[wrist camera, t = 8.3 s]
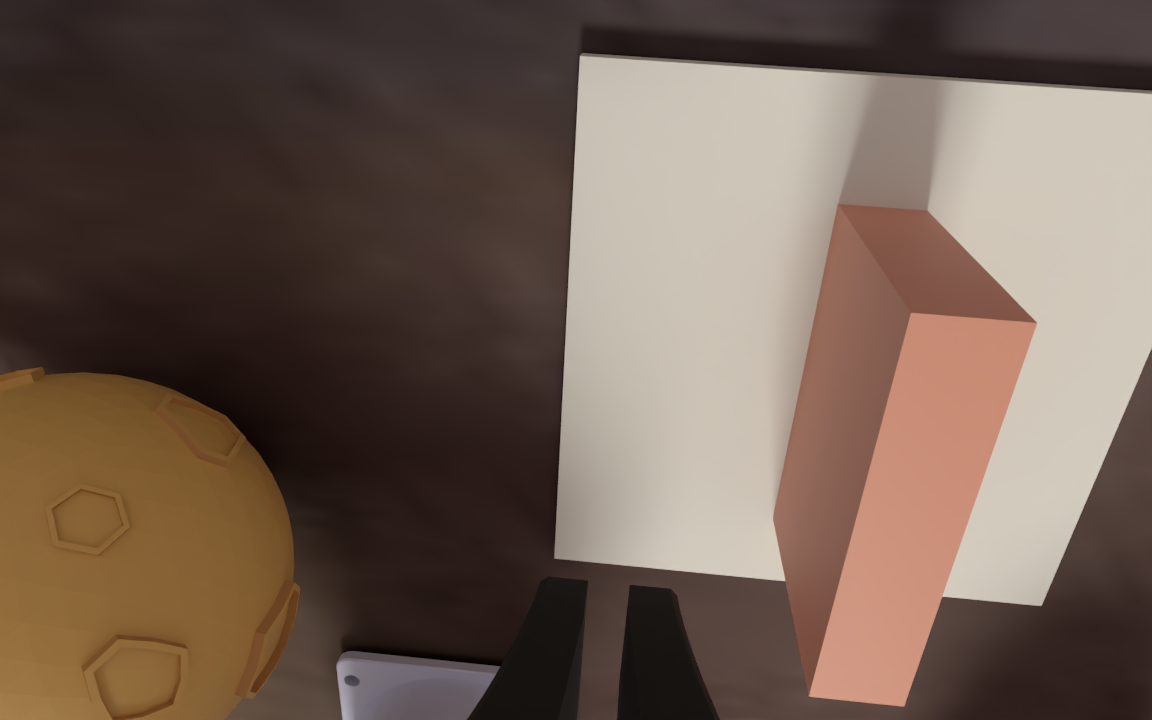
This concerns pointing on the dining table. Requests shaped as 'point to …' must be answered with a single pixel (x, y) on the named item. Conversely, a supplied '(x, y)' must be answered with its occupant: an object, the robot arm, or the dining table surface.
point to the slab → (889, 444)
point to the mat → (792, 285)
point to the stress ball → (134, 553)
